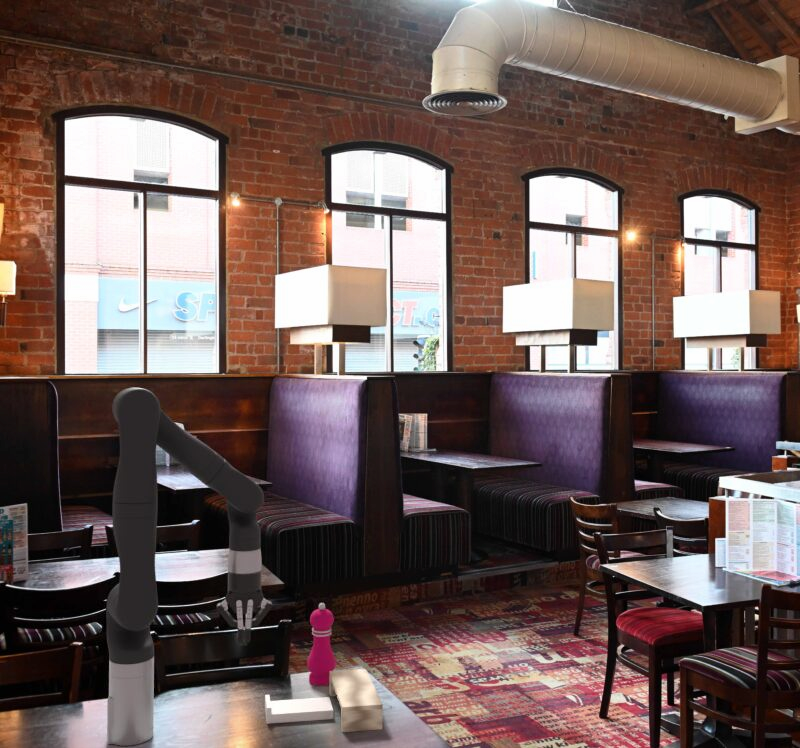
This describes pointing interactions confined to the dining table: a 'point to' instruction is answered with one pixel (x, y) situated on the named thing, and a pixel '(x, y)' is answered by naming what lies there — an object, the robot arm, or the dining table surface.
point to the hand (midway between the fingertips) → (244, 644)
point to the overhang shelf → (356, 700)
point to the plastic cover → (297, 710)
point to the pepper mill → (321, 647)
